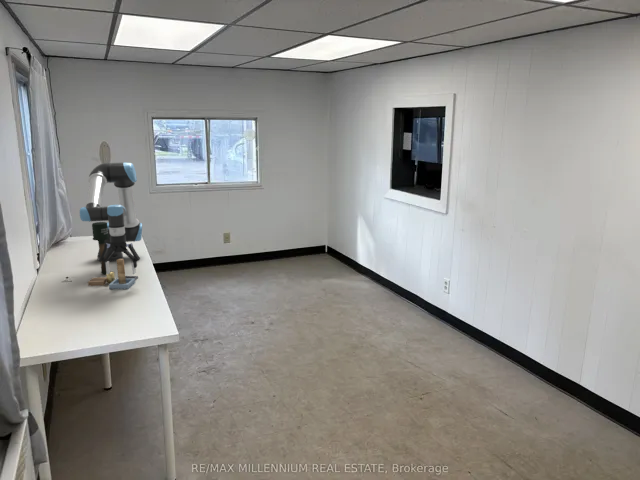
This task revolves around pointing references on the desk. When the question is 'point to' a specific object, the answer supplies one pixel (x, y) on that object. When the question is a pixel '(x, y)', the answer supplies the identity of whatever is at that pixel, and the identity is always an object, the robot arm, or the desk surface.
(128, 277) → the holder
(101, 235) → the stick grenade
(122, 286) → the tray
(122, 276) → the dowel
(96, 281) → the flat cardboard box
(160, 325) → the desk surface
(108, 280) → the cylinder
